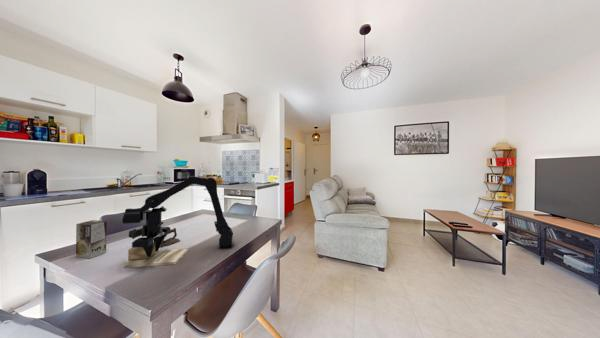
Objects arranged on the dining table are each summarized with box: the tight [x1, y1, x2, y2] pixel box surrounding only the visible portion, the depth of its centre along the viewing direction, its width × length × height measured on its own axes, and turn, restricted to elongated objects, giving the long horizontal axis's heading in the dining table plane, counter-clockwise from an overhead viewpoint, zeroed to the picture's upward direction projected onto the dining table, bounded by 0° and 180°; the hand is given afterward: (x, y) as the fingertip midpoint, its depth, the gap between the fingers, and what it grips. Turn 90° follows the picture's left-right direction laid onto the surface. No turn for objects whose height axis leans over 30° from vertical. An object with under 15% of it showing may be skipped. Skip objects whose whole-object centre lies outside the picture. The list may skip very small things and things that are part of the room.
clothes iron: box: [159, 227, 181, 249], centre depth 99 cm, size 7×11×10 cm, turn 165°
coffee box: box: [75, 219, 108, 259], centre depth 86 cm, size 9×6×16 cm
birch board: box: [123, 248, 189, 269], centre depth 84 cm, size 20×13×1 cm, turn 101°
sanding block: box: [127, 246, 155, 262], centre depth 82 cm, size 8×5×5 cm, turn 102°
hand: (152, 254), depth 83 cm, fingers closed on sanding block, 5 cm apart
